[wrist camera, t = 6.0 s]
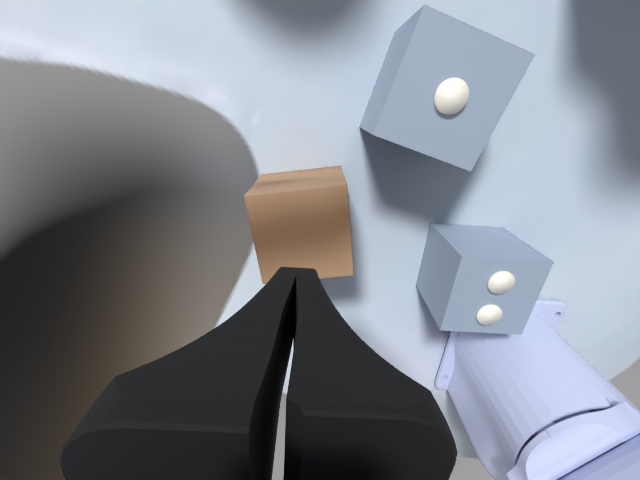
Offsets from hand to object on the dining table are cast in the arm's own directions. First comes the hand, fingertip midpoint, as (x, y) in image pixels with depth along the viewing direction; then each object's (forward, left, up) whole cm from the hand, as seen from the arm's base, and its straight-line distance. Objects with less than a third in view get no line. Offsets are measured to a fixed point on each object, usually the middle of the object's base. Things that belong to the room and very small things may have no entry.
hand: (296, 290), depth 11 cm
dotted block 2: (-3, -11, -10) cm, 15 cm away
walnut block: (0, 0, -10) cm, 10 cm away
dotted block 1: (+7, -6, -10) cm, 13 cm away
